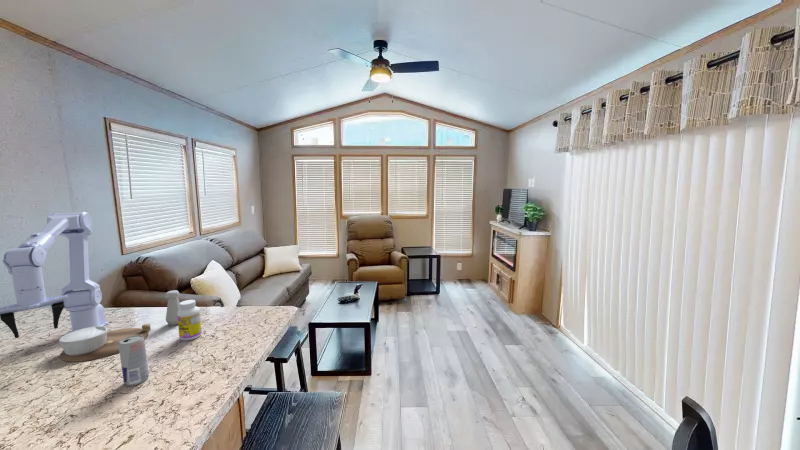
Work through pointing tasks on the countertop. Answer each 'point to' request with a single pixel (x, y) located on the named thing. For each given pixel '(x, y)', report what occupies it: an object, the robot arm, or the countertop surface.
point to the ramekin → (84, 340)
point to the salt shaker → (172, 307)
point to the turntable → (108, 344)
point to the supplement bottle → (189, 320)
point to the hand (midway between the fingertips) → (37, 332)
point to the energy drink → (133, 360)
